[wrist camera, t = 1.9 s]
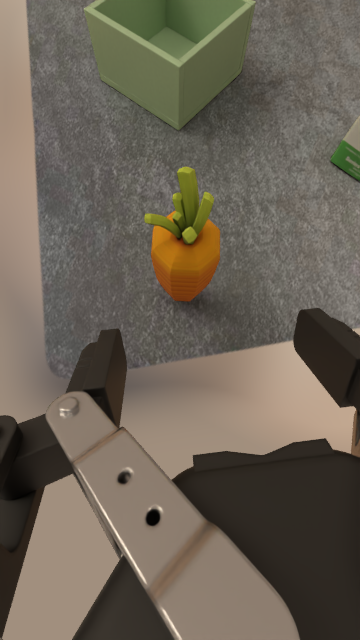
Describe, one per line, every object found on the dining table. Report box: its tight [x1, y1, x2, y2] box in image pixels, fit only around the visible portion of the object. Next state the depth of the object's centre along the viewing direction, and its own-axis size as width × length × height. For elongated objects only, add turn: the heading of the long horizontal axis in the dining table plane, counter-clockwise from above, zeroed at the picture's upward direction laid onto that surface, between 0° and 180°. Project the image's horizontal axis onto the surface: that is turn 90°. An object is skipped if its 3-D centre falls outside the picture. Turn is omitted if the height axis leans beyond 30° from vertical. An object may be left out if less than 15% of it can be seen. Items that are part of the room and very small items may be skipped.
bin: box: [84, 0, 256, 131], centre depth 32 cm, size 14×14×7 cm
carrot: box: [144, 167, 220, 301], centre depth 20 cm, size 5×5×15 cm
